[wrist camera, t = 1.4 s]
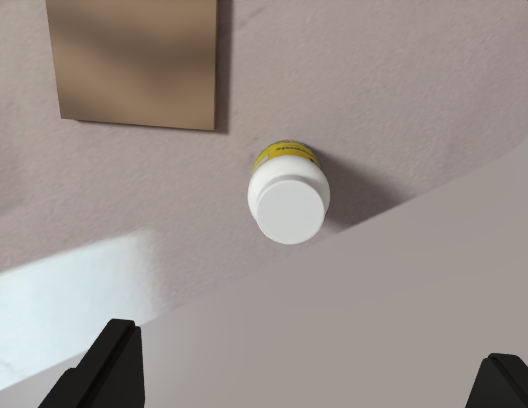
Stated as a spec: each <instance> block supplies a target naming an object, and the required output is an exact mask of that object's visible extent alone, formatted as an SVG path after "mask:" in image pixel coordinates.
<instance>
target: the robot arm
mask: <svg viewBox="0 0 528 408" xmlns="http://www.w3.org/2000/svg"><path fill="white" fill-rule="evenodd" d="M144 404H145V390H144V374H143V356H142V340H141V328H140V327H139V326H135V322H134V321H133V320H124V319H111V320H110V321H109V322H108V323H107V325H106V326H105V328H104V329H103V330H102V332H101V333H100V335H99V336H98V338H97V339H96V340H95V342H94V343H93V345H92V346H91V347H90V349H89V350H88V352H87V353H86V354H85V356H84V357H83V359H82V360H81V361H80V363H79V364H78V366H77V367H76V368H70V369H68V370H66V371H65V372H64V374H63V375H62V376H61V377H60V378H59V380H58V381H57V383H56V384H55V385H54V387H53V388H52V389H51V391H50V392H49V393H48V395H47V396H46V397H45V399H44V400H43V401H42V403H41V404H40V405H39V407H38V408H144ZM465 408H528V367H527V366H526V364H525V363H524V362H523V361H522V360H521V359H520V358H519V357H518V356H516V355H509V354H499V353H491V354H490V355H489V356H488V358H485V359H483V361H482V363H481V366H480V368H479V371H478V374H477V376H476V379H475V382H474V385H473V387H472V390H471V393H470V396H469V398H468V401H467V404H466V407H465Z"/></svg>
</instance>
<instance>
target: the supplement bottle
mask: <svg viewBox="0 0 528 408" xmlns="http://www.w3.org/2000/svg"><path fill="white" fill-rule="evenodd" d="M329 203H330V188H329V184H328V181H327V178H326V176H325V174H324V172H323V170H322V168H321V165H320V163H319V161H318V159H317V157H316V156H315V154H314V153H313V152H312V151H311V149H309V148H308V147H307V146H306V145H304V144H302V143H300V142H298V141H294V140H281V141H277V142H275V143H272V144H271V145H269V146H268V147H266V148H265V149H264V150H263V151H262V152H261V154H260V155H259V157H258V159H257V161H256V163H255V166H254V170H253V173H252V177H251V180H250V184H249V188H248V204H249V208H250V211H251V213H252V215H253V217H254V218H255V220H256V221H257V223H258V225H259V227H260V229H261V230H262V232H263V233H264V234H265V235H266V236H267V237H269V238H270V239H272V240H274V241H276V242H278V243H282V244H298V243H302V242H305V241H307V240H309V239H310V238H312V237H313V236H314V235H315V234H316V233H317V232H318V231H319V229H320V228H321V226H322V224H323V221H324V217H325V214H326V212H327V210H328V207H329Z"/></svg>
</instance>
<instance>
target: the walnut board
mask: <svg viewBox="0 0 528 408" xmlns="http://www.w3.org/2000/svg"><path fill="white" fill-rule="evenodd" d="M46 7H47V15H48V23H49V30H50V38H51V45H52V53H53V60H54V68H55V76H56V83H57V91H58V98H59V106H60V113H61V119H74V120H87V121H99V122H112V123H125V124H137V125H150V126H163V127H175V128H188V129H201V130H213V131H214V130H215V129H216V101H217V56H218V11H219V0H46Z"/></svg>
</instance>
